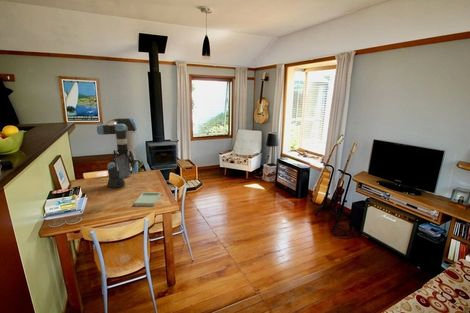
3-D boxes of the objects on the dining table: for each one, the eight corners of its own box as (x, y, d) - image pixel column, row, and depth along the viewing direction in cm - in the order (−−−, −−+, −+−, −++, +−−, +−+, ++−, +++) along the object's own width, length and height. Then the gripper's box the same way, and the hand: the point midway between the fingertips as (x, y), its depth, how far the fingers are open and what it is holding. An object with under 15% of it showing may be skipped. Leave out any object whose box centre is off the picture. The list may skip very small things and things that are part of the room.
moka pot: (113, 177, 195) (111, 153, 190) (132, 173, 206) (130, 150, 201) (117, 180, 189) (115, 156, 184) (137, 176, 200) (135, 153, 194)
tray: (142, 194, 211) (142, 192, 210) (161, 194, 212) (161, 192, 211) (134, 205, 191) (133, 202, 190) (154, 205, 192) (154, 203, 191)
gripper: (105, 144, 186) (108, 171, 192) (134, 144, 187) (136, 172, 193) (110, 142, 193) (113, 168, 199) (137, 142, 194) (140, 169, 200)
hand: (124, 170), depth 196 cm, fingers closed on moka pot, 9 cm apart
